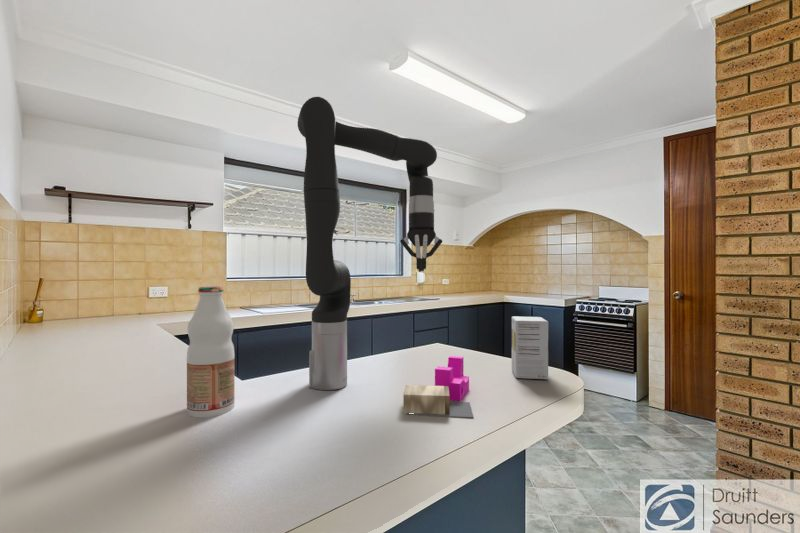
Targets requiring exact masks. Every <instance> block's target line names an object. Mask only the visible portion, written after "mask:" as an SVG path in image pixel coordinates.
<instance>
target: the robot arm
mask: <svg viewBox="0 0 800 533" xmlns="http://www.w3.org/2000/svg"><path fill="white" fill-rule="evenodd" d="M333 107H334V106H332V104H331V103H330V102H329V101H328V100H327V99H325V98H324V97H321V96H312V97H310V98H308V99H307V100H306V101H305V102H304V103H303V104H302V105H301V108H300V111H299V113H298V118H297V129H298V131H299V133H300V135H301V136H302V137H304V139H305V146H306V147H305V148H306V150H305V152H306V154H305V156H306V157H305V162H304V163H305V164H304V165H305V166H304V172H303V173H304V175H303V202H304V214H305V230H306V231H305V232H306V234H305V235H306V253H305V254H306V258H305V259H306V260H305V281H306V284H307V287H308V289H309V290H310V292H312V294H313V295H316V296H318V297H319V301H318V303H317V305H316V306H315V308H313V309H312V312H311V350H309V351H308V352H309V353H308V354H309V355H308V356H309V357H308V358H309V359H308V361H309V362H308V364H309V366H308V367H309V368H308V376H309V380H308V382H309V384H308V386H309V388H310V389H315V390H319V391H332V390H333V391H334V390H339V389H340V390H341V389H343V388H345V387H347V385H348V313H349V311H350V305H351V284H352V283H351V279H352V278H351V274H350V269H349V268H348V266H347V265H346V264H345V263H344V262H342V261H340V260H335V259H334V251H333V237H334V233H335V230H336V226H337V224H338V220H339V217H340V213H341V201H340V200H341V198H340V187H339V177H338V176H339V175H338V167H337V160H336V150H335V149H336V147H335V146H340V147H345V148H349V149H353V150H357V151H362V152H365V153H368V154H372V155H375V156H378V157H380V158H383V159H387V160H389V161H390V160H391V161H393V162H399V161H405V165H406V173H407V177H408V181H409V198H408V231H407V232H406V233H407V234H406V236H405V237H404V238H403V239H400V244H401V246H403V247H404V249H405V250H406V251H407V252H408V254H409V255H410V256H411V257H413V258H415V260H416V263H415V264H416V269H417V270H418V272H424V271H425V270H427V259H428V258H429V257H430V258H431V257H432V256H433V255H434V254H435V253H436V251H437V250H438V248H439V247H440V246H441V245H442V244H443V239H442V238H439V237H438V236H437V234H436V232H435V202H434V182H433V179H432V177H430V176H429V173H428V172H429V171H428V168H429V167H431V166H432V165H433V164H435V162H436V161H437V157H438V152H437V150H436V147H434V145H433V144H432V143H429V142H428V141H425V140H422V139H415V138H411V137H403V136H399V135H397V134H394V133H391V132H389V131H385V130H382V129H379V128H372V127H371V128H370V127H359V126H352V125H348V124H344V123H341V122H339V121H337V120H336V119H337V116H336V112H335V110H334V108H333ZM410 242H411V244H412V246H414V247H415V252H414V251H413V250H412V248H411V247H410V245H409V244H410ZM432 242H433V244H434V245H433V246H432V248H431V249H430V251H428V247H429V246H430V245H431V243H432ZM421 247H422V251H421ZM421 252H422V253H421ZM421 254H422V255H421Z"/></svg>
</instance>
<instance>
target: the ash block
mask: <svg viewBox="0 0 800 533" xmlns="http://www.w3.org/2000/svg"><path fill="white" fill-rule="evenodd" d="M402 397H403V400H402V401H403V402H402V403H403V404H402V405H403V414H405V413H419V414H450V402H451V400H450V396H449V388H448V386H435V385H424V384H423V385H421V384H420V385H419V384H417V385H416V384H412V385H411V384H405V387H404V391H403V396H402Z"/></svg>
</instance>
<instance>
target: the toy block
mask: <svg viewBox="0 0 800 533" xmlns="http://www.w3.org/2000/svg"><path fill="white" fill-rule="evenodd" d="M434 386H448V388H449V396H450V401H453V402H462V399H463V398H464V397H465V395H466V394H467V393H468V391H469V390H470V376H467V375H464V356H456V355H449V356H448V360H447V366H440V365H439V366H436V367H435V368H434Z"/></svg>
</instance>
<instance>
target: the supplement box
mask: <svg viewBox="0 0 800 533" xmlns="http://www.w3.org/2000/svg"><path fill="white" fill-rule="evenodd" d="M511 371H512V373H513V375H514V377H515V378H516V379H531V380H533V379H535V380H549V321H548V320H546V319H545V318H543V317H541V316H517V315H515V316H511Z"/></svg>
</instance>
